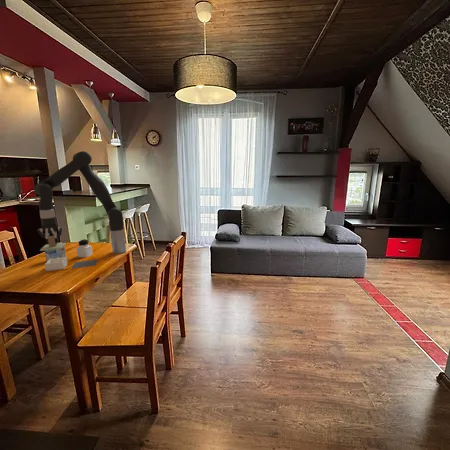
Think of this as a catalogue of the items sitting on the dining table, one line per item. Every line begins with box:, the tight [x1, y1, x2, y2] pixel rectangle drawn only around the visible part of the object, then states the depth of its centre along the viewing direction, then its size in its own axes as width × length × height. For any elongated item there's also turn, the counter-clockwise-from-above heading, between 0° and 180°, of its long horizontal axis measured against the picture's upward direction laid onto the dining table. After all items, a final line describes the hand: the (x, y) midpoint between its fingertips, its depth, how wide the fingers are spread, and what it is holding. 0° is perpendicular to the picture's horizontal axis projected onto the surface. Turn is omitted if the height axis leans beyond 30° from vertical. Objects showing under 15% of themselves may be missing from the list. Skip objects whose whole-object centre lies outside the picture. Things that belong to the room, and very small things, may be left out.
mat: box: [70, 258, 99, 270], centre depth 166 cm, size 14×12×1 cm
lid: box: [39, 235, 67, 252], centre depth 157 cm, size 11×11×7 cm
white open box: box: [44, 256, 68, 272], centre depth 161 cm, size 10×10×5 cm
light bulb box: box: [44, 241, 67, 262], centre depth 176 cm, size 11×7×11 cm, turn 143°
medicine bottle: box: [75, 238, 93, 258], centre depth 181 cm, size 7×7×12 cm
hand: (52, 243), depth 158 cm, fingers closed on lid, 3 cm apart
